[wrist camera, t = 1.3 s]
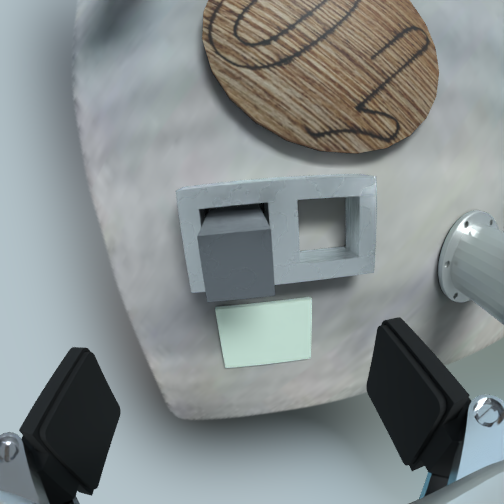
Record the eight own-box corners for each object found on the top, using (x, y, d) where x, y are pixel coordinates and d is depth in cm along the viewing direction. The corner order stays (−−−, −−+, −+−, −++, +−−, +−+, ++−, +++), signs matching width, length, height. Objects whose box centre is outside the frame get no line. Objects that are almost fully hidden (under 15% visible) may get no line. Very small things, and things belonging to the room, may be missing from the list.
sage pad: (310, 296, 30) (311, 299, 29) (309, 355, 32) (310, 358, 32) (215, 306, 30) (215, 309, 29) (225, 364, 32) (225, 368, 32)
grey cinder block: (360, 173, 26) (376, 176, 23) (359, 260, 29) (373, 272, 26) (183, 186, 26) (175, 190, 22) (196, 277, 28) (191, 292, 25)
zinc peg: (257, 203, 27) (270, 228, 17) (261, 248, 28) (275, 295, 18) (210, 208, 26) (197, 236, 17) (215, 253, 28) (207, 302, 18)
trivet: (455, 59, 22) (464, 56, 20) (354, 204, 27) (362, 208, 26) (297, -66, 16) (300, -74, 14) (151, 57, 22) (146, 51, 20)
